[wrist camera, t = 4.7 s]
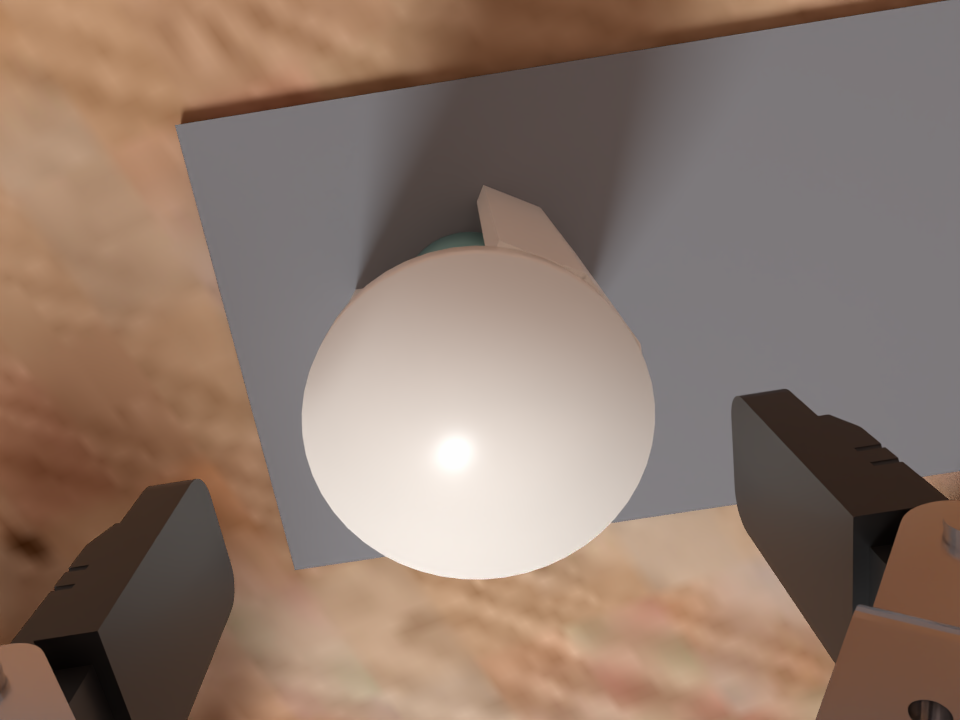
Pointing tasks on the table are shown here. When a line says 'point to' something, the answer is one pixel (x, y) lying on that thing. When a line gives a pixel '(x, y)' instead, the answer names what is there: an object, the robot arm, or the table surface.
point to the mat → (632, 232)
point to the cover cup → (480, 404)
